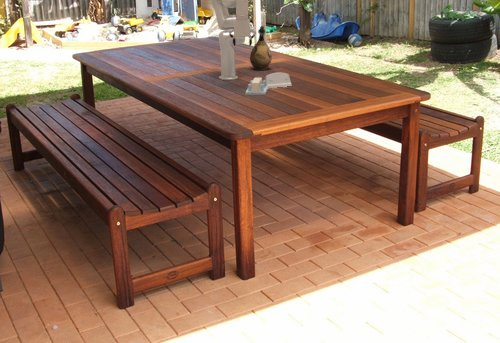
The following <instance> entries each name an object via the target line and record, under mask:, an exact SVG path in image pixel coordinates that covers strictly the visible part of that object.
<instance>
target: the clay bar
mask: <svg viewBox="0 0 500 343" xmlns="http://www.w3.org/2000/svg"><path fill="white" fill-rule="evenodd" d="M261 84H263V77H254V78H253V81H252V92H259V91H260V89H261Z"/></svg>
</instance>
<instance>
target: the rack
mask: <svg viewBox="0 0 500 343" xmlns="http://www.w3.org/2000/svg"><path fill="white" fill-rule="evenodd" d="M253 80H254V79H253ZM253 80H250V82H249V83H248V84H247V89H246V91H245V93H244V94H245V95H249V96H253V95H254V96H266V95H267V93H268V90H269V89H268V86H266V80H265V79H264V80H263V79H262V84H261V89H260V91H259V92H252V81H253Z"/></svg>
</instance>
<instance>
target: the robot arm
mask: <svg viewBox="0 0 500 343" xmlns="http://www.w3.org/2000/svg"><path fill="white" fill-rule="evenodd" d="M209 1H210V4H211V6H212V8H213V10H214V13H215V19H216V21H217V27H218V29H219V30H221V31H220V32H219V33H218V43H219V52H220V73H221V74H220V75H219V76H218V79H219V80H222V81H233V80H234V81H235V80H237V79H238V78H239V76H238V75H236V52H235V50H234V48H233V47H232V46H234V47H235V46H236V45H237V46H238V45H242V44H244V43H245V42H246V37H248V41H249V42H248V46H249V47H251V46H252V45H253V38H255V36H256V35H257V31H255V30H254V29H252V28H251V21H250V19H249V0H209ZM233 8H234V9H235V14H230V13H229V9H233ZM251 33H252V34H253V35H251Z"/></svg>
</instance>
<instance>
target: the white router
mask: <svg viewBox="0 0 500 343" xmlns="http://www.w3.org/2000/svg"><path fill="white" fill-rule="evenodd" d="M264 80H266V86H268V90H269V88H272V89H278V88H277V87H283V88H288V87H287V86H292V87H293V85H292V82H291V78H290V74H289V73H286V72H280V71H279V72H273V73H269V74H266V76H265V77H264Z"/></svg>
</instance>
